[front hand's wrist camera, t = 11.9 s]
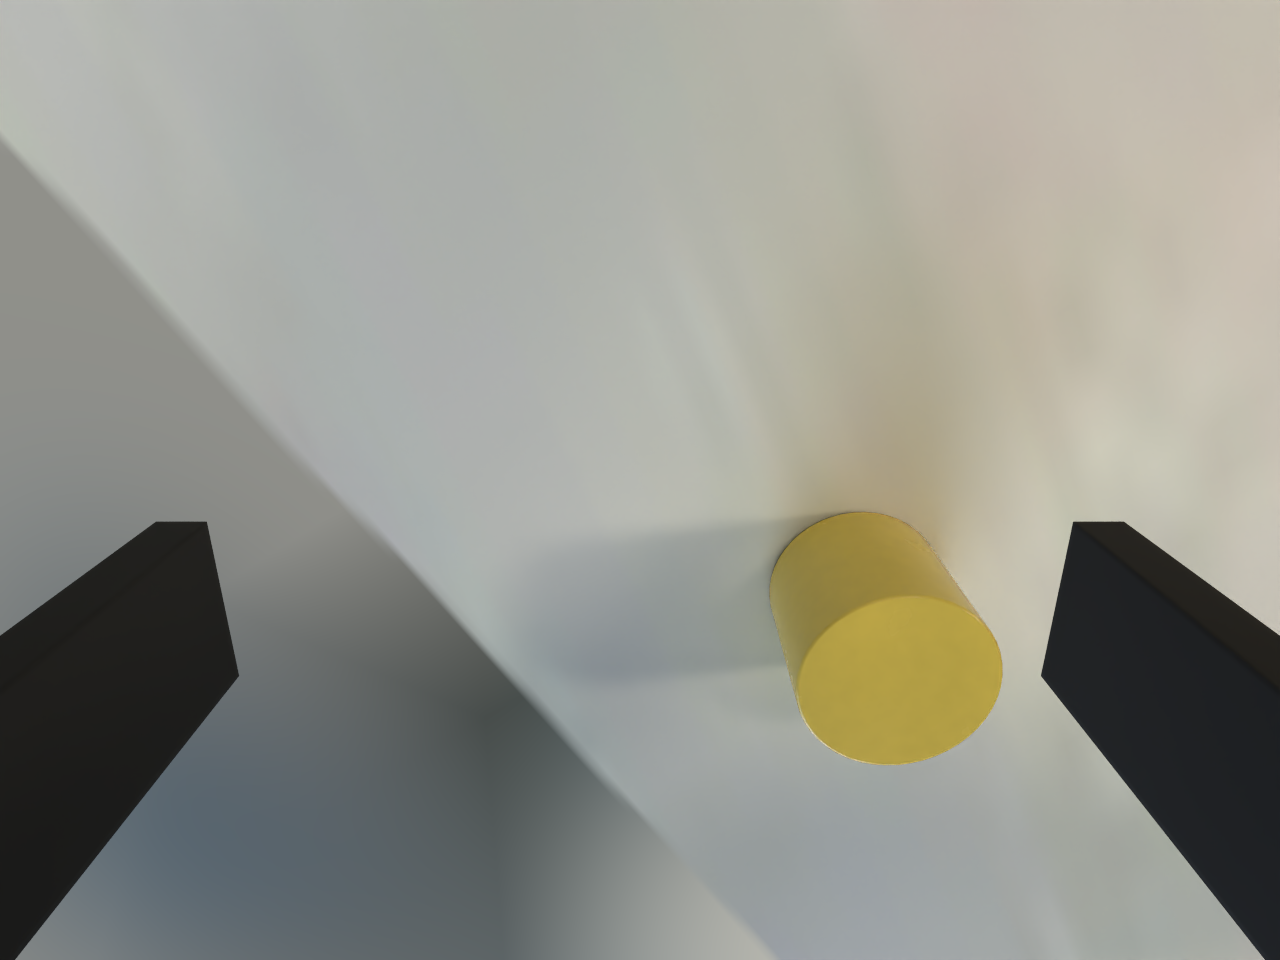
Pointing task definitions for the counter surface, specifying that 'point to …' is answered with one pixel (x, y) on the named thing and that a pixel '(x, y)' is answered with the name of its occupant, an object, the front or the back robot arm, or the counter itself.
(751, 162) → the counter surface
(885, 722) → the cylinder
